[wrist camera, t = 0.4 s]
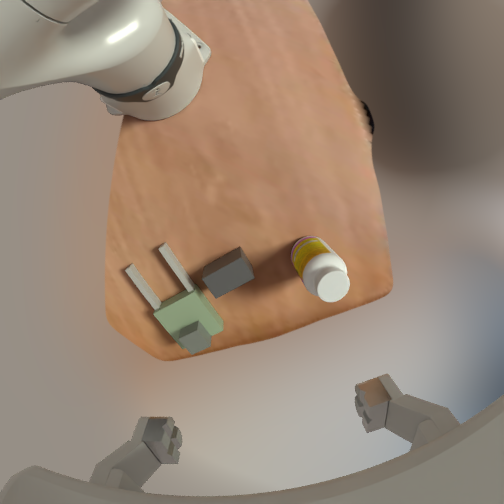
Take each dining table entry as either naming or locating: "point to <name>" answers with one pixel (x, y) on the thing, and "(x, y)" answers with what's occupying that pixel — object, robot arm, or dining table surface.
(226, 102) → the dining table surface
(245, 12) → the dining table surface
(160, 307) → the two-prong power plug
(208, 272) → the grey rectangular block
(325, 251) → the supplement bottle
